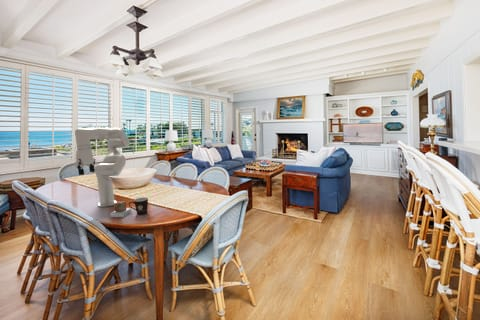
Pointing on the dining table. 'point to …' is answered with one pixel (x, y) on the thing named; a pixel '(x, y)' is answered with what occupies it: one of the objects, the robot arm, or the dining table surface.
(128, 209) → the trivet
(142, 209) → the coffee mug
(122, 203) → the walnut block
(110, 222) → the dining table surface
